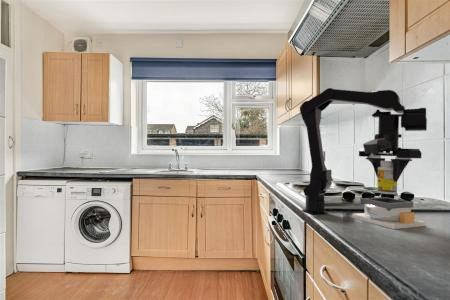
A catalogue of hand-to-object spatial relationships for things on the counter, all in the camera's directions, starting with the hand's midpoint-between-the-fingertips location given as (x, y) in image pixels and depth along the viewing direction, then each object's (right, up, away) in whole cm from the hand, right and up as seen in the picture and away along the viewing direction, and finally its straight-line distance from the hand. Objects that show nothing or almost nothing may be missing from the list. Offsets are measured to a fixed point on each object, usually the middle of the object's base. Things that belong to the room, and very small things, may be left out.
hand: (387, 180), depth 101 cm
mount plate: (0, -13, 0) cm, 13 cm away
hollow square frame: (0, -12, -1) cm, 12 cm away
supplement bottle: (0, -4, 0) cm, 4 cm away
